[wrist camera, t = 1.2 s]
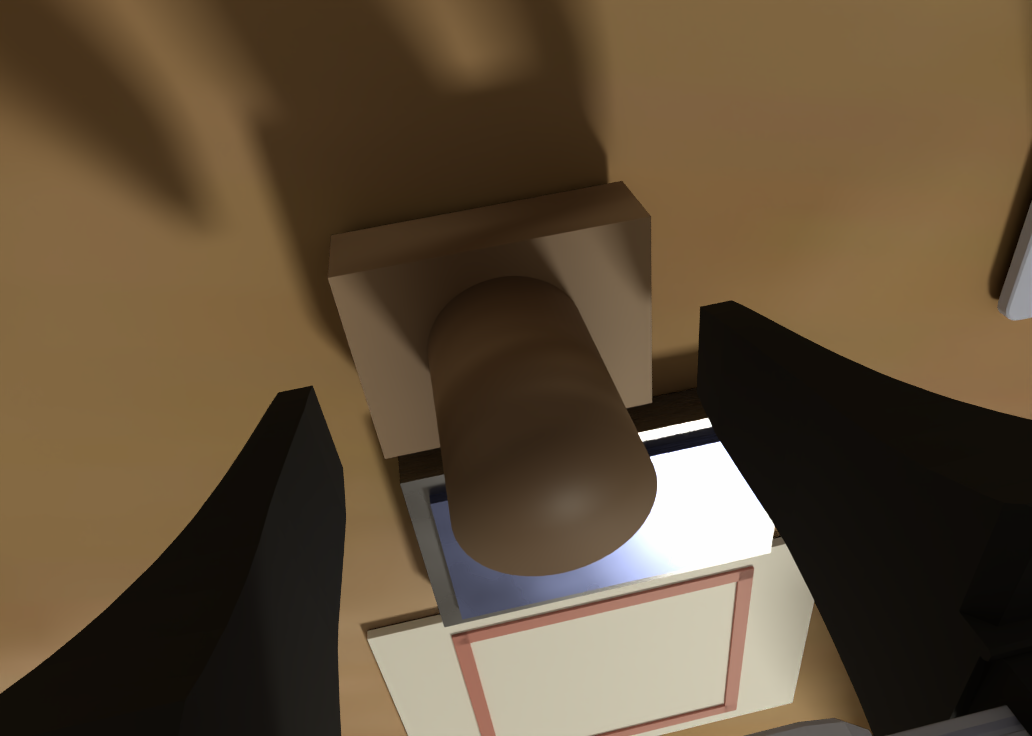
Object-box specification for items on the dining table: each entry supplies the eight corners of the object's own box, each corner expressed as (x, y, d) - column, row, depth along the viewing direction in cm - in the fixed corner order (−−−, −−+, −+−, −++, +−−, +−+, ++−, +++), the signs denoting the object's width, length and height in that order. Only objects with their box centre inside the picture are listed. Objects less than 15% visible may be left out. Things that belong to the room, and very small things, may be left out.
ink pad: (770, 372, 19) (798, 407, 18) (752, 523, 23) (775, 561, 21) (397, 450, 18) (400, 492, 17) (440, 593, 22) (445, 636, 21)
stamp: (615, 172, 15) (756, 346, 10) (621, 346, 18) (735, 558, 12) (331, 225, 15) (316, 437, 9) (381, 395, 17) (392, 636, 12)
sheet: (823, 527, 23) (830, 536, 23) (788, 695, 30) (793, 704, 29) (367, 630, 22) (367, 642, 22) (431, 782, 28) (431, 793, 28)
